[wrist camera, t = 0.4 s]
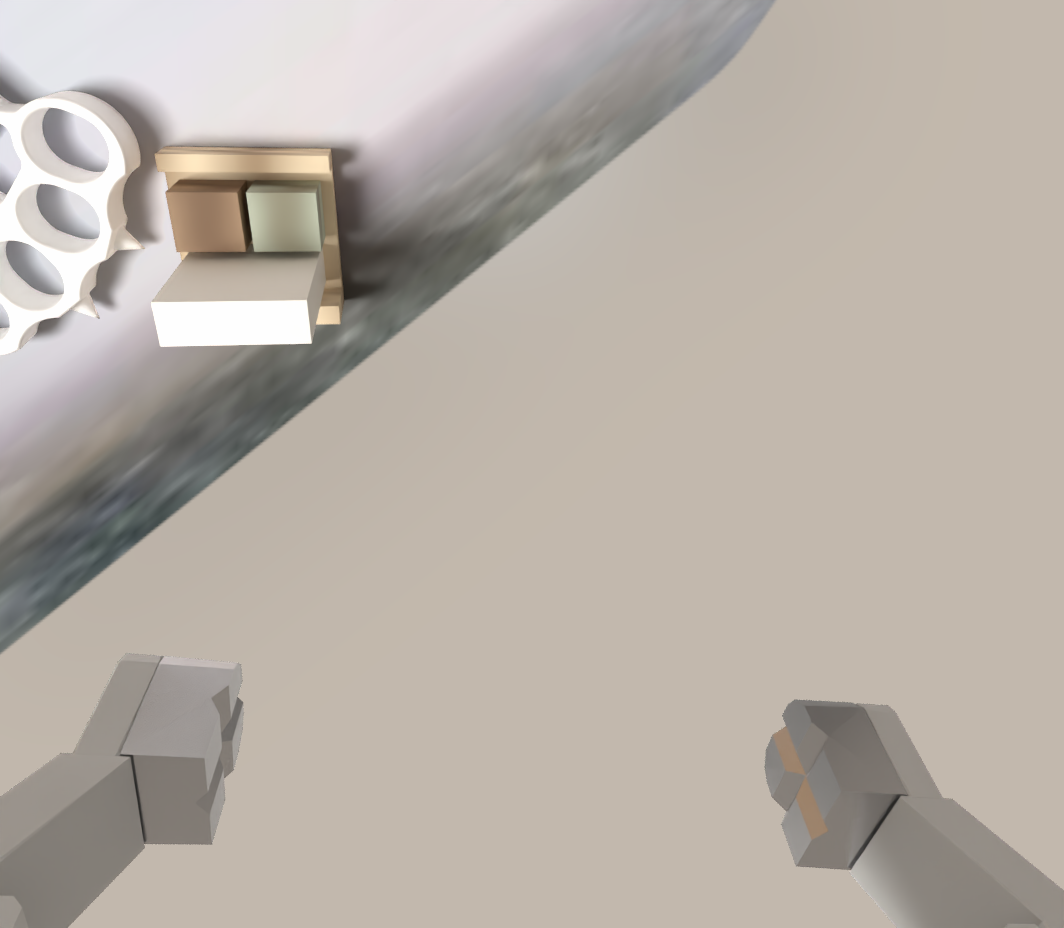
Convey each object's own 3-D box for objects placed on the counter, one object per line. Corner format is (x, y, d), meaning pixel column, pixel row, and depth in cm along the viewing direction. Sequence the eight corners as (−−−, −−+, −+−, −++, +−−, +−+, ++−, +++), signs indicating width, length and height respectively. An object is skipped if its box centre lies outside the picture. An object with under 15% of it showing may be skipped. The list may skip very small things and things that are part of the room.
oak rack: (193, 302, 55) (178, 326, 51) (164, 146, 50) (145, 160, 46) (344, 300, 56) (340, 323, 52) (330, 148, 51) (325, 162, 47)
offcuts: (189, 236, 52) (176, 252, 49) (179, 179, 50) (165, 192, 47) (325, 235, 53) (321, 251, 50) (320, 180, 51) (315, 193, 48)
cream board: (201, 281, 53) (160, 346, 44) (194, 244, 52) (150, 302, 42) (326, 280, 54) (311, 343, 45) (322, 243, 53) (306, 300, 44)
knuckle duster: (-45, -9, 45) (199, 167, 51) (-169, 244, 50) (65, 375, 56) (-75, -8, 42) (188, 178, 48) (-203, 260, 47) (48, 396, 54)
